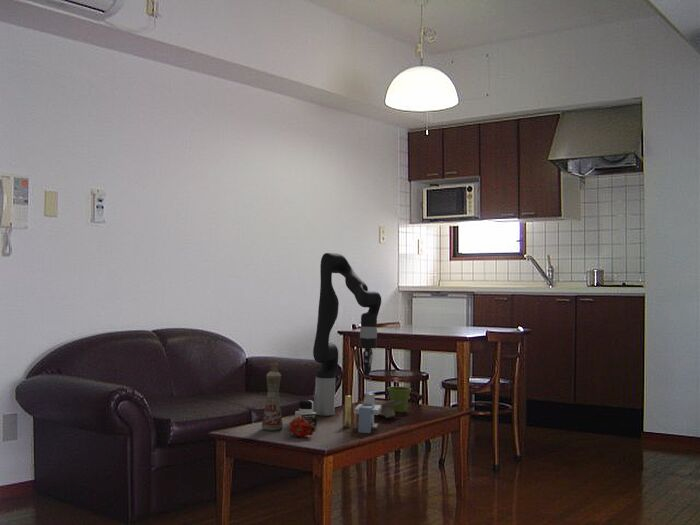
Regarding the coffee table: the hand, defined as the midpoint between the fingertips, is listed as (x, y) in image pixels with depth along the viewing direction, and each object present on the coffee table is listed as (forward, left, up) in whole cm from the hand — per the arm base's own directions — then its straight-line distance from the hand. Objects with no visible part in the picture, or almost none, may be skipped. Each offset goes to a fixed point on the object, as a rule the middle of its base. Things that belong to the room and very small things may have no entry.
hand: (367, 373), depth 354 cm
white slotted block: (+5, +21, -22) cm, 31 cm away
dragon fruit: (-21, -36, -22) cm, 47 cm away
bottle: (-36, -24, -22) cm, 49 cm away
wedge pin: (-7, -7, -22) cm, 24 cm away
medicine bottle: (-23, -19, -22) cm, 37 cm away
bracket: (+2, -14, -22) cm, 26 cm away
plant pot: (+11, +40, -22) cm, 47 cm away
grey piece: (+2, -8, -22) cm, 24 cm away
